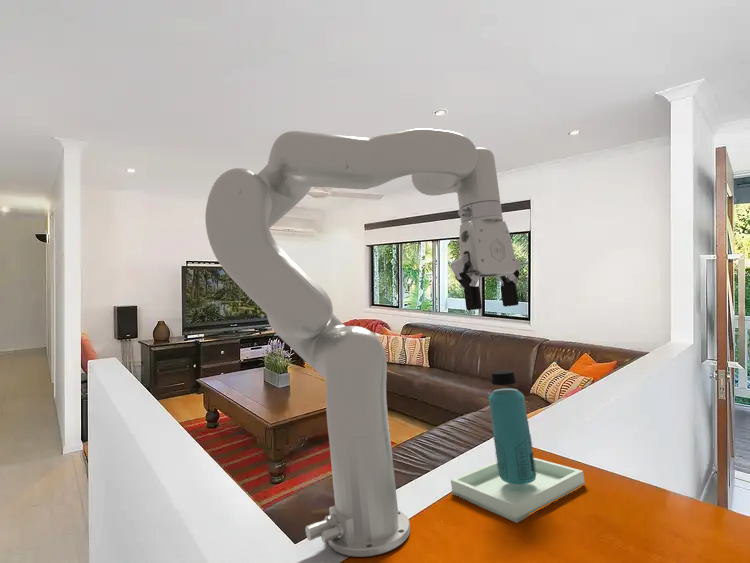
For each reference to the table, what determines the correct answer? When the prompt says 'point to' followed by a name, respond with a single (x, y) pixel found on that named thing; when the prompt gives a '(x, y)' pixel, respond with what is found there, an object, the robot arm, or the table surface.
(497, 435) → the beverage bottle
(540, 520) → the table surface
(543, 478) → the tray
